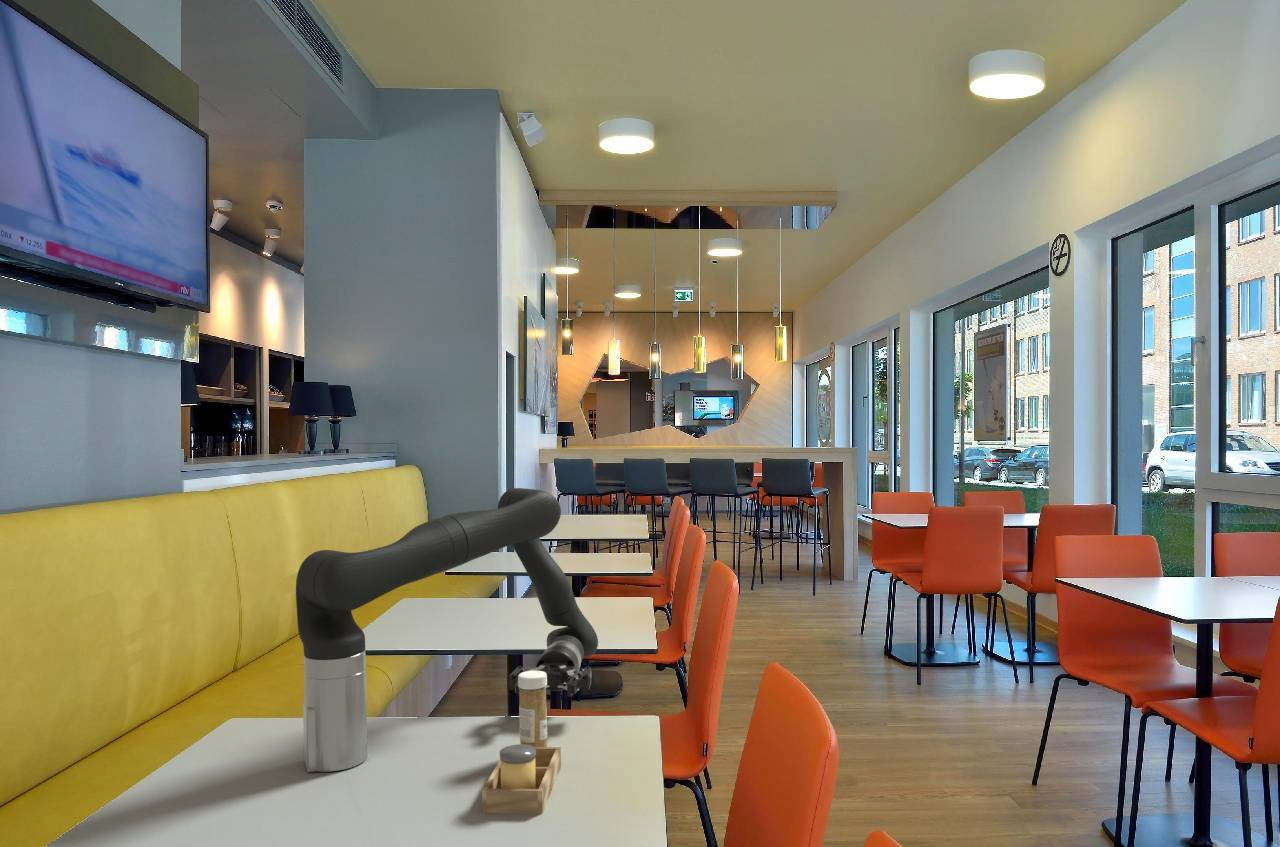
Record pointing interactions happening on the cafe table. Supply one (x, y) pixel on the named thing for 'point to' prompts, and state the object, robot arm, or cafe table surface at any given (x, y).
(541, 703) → the sprinkles bottle
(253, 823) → the cafe table surface
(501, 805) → the caddy
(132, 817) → the cafe table surface
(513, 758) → the honey jar
